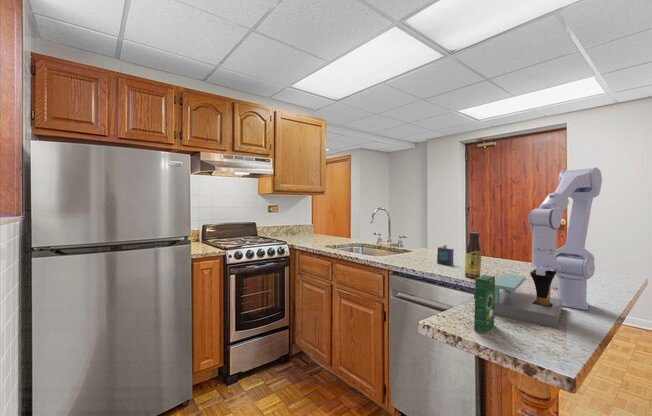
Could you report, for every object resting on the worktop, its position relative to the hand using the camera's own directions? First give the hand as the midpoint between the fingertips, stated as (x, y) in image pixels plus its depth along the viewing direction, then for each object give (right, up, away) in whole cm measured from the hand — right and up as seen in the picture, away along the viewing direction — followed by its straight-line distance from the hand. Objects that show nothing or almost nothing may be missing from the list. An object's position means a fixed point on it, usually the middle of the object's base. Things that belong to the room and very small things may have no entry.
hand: (542, 296), depth 89 cm
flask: (+1, -5, +77) cm, 77 cm away
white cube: (+27, -6, +33) cm, 42 cm away
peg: (0, -3, 0) cm, 2 cm away
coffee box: (-23, -5, -11) cm, 26 cm away
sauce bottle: (+2, -5, +47) cm, 47 cm away
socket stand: (-3, -5, +3) cm, 7 cm away
